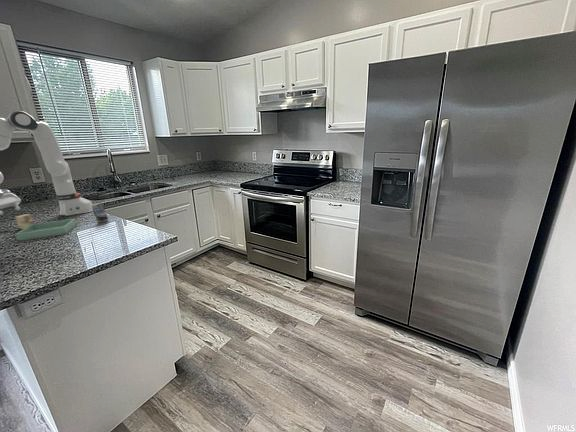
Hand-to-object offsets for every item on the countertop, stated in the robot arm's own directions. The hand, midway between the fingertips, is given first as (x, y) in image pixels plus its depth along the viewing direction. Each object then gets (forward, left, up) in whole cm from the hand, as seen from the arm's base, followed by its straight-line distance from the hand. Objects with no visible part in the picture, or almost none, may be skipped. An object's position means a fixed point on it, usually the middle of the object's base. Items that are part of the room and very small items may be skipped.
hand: (10, 211), depth 163 cm
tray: (-25, +22, -11) cm, 35 cm away
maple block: (-7, +4, -11) cm, 13 cm away
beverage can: (-50, +14, -11) cm, 53 cm away
